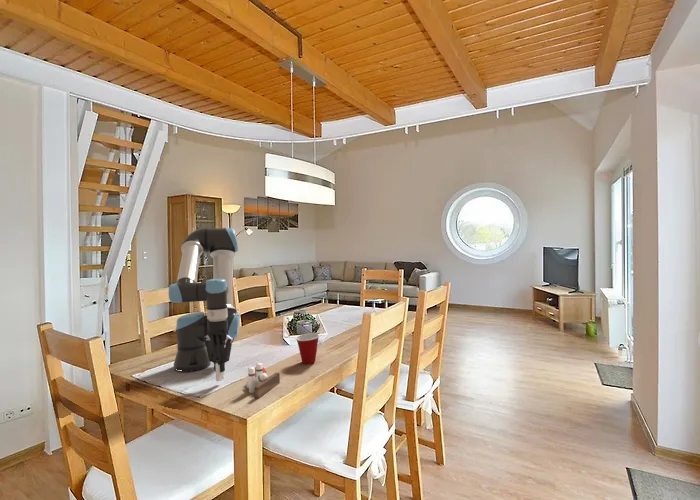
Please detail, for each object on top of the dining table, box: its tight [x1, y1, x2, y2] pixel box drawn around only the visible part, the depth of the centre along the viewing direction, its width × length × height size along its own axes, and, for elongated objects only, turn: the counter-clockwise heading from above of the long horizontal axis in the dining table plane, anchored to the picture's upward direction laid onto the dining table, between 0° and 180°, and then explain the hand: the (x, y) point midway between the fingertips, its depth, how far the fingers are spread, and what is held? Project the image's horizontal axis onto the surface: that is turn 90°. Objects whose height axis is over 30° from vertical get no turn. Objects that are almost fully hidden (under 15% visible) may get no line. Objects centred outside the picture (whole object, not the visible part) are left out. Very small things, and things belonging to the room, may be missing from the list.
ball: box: [254, 366, 268, 378], centre depth 153 cm, size 6×6×6 cm
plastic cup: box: [295, 332, 320, 365], centre depth 175 cm, size 11×11×12 cm
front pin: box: [245, 372, 269, 389], centre depth 146 cm, size 2×2×9 cm
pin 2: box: [255, 362, 264, 386], centre depth 148 cm, size 2×2×9 cm
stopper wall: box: [254, 372, 281, 400], centre depth 144 cm, size 2×15×4 cm, turn 161°
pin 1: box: [247, 366, 257, 394], centre depth 143 cm, size 2×2×9 cm
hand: (219, 379), depth 151 cm, fingers closed
